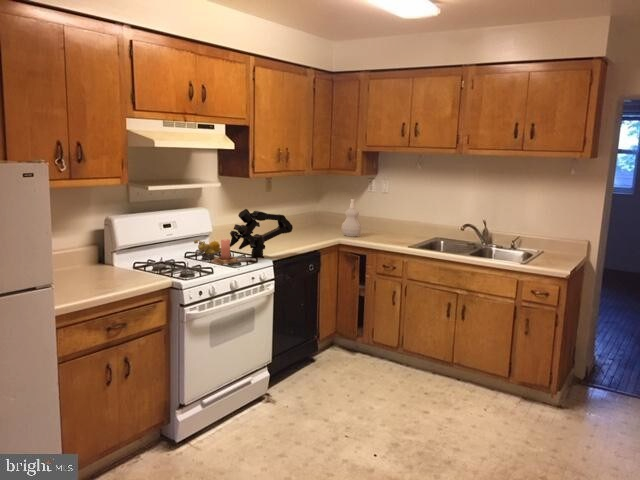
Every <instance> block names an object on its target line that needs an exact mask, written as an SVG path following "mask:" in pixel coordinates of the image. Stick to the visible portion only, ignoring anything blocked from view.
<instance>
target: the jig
mask: <svg viewBox="0 0 640 480" xmlns="http://www.w3.org/2000/svg"><path fill="white" fill-rule="evenodd" d="M241 257H242V258H244V257H243V256H241ZM249 261H252V260H251V259H249V260H247V261H246V262H249ZM210 262H211V263H213V264H217V265H219V266H221V265H227V264H235V263H242V262H245V261H239V262H237V259H236V258H234V256H230V260H221V256H218V257H213V260H210Z"/></svg>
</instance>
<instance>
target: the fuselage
mask: <svg viewBox="0 0 640 480" xmlns="http://www.w3.org/2000/svg"><path fill="white" fill-rule="evenodd" d="M230 242H231V240H230V239H229V238H228V239H227V238H223V239H220V250H221V252H220V257H221V260H230V257H231V247H230Z"/></svg>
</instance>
